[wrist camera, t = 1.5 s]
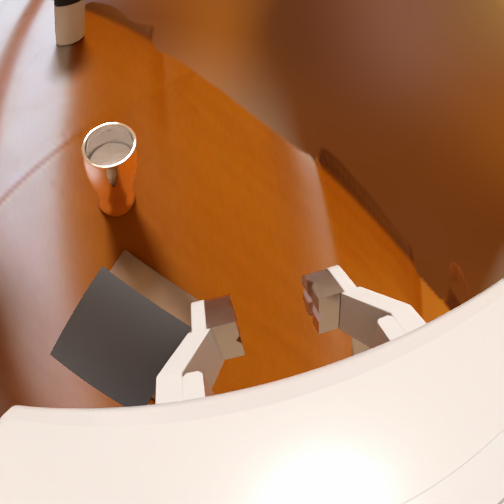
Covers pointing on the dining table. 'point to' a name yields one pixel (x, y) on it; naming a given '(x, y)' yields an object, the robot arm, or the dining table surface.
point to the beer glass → (111, 166)
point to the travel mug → (69, 21)
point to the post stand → (125, 330)
